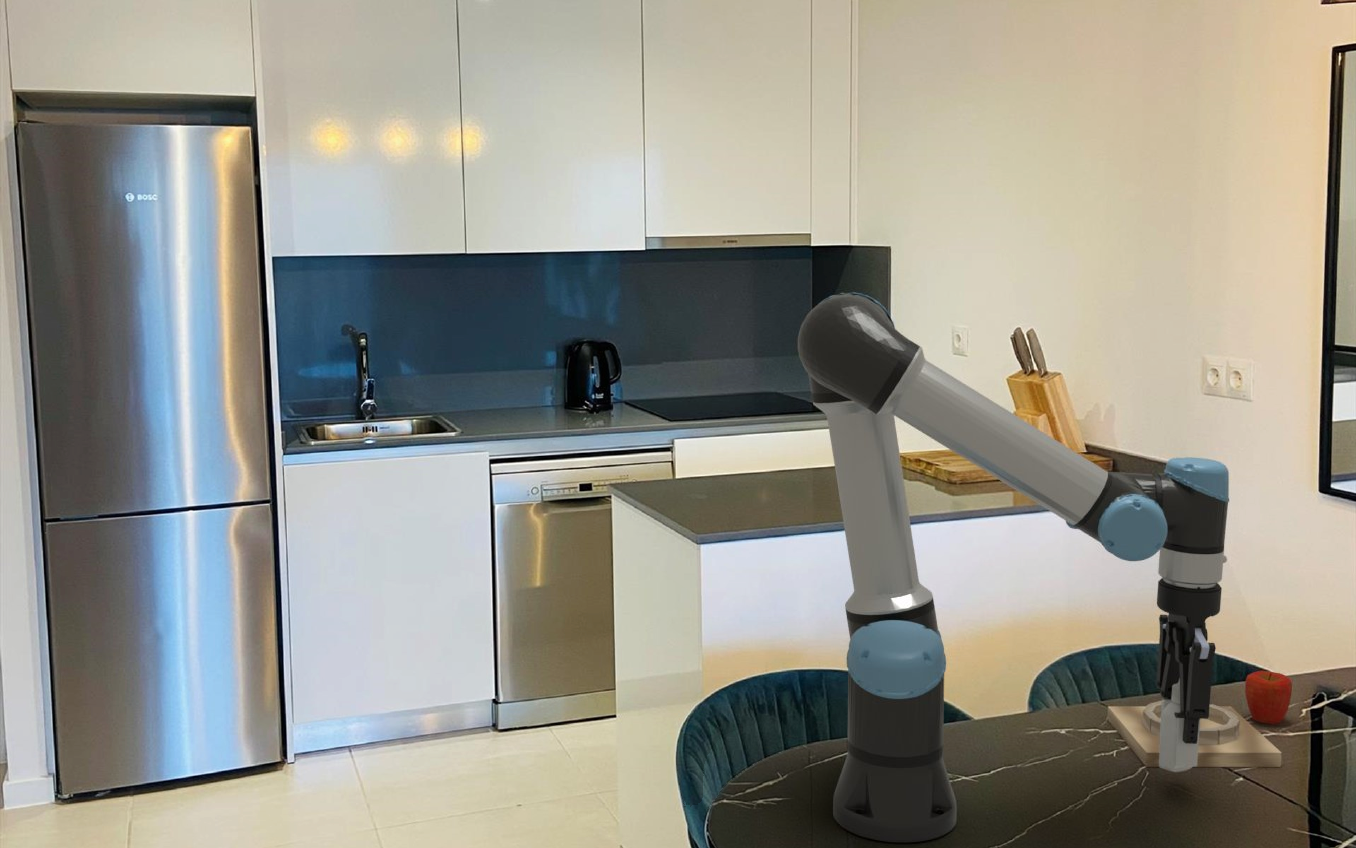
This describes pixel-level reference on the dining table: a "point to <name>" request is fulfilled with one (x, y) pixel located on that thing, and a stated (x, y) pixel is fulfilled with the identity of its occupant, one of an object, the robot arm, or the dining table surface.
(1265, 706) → the apple
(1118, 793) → the dining table surface
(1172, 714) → the eye dropper bottle
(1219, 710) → the socket stand
